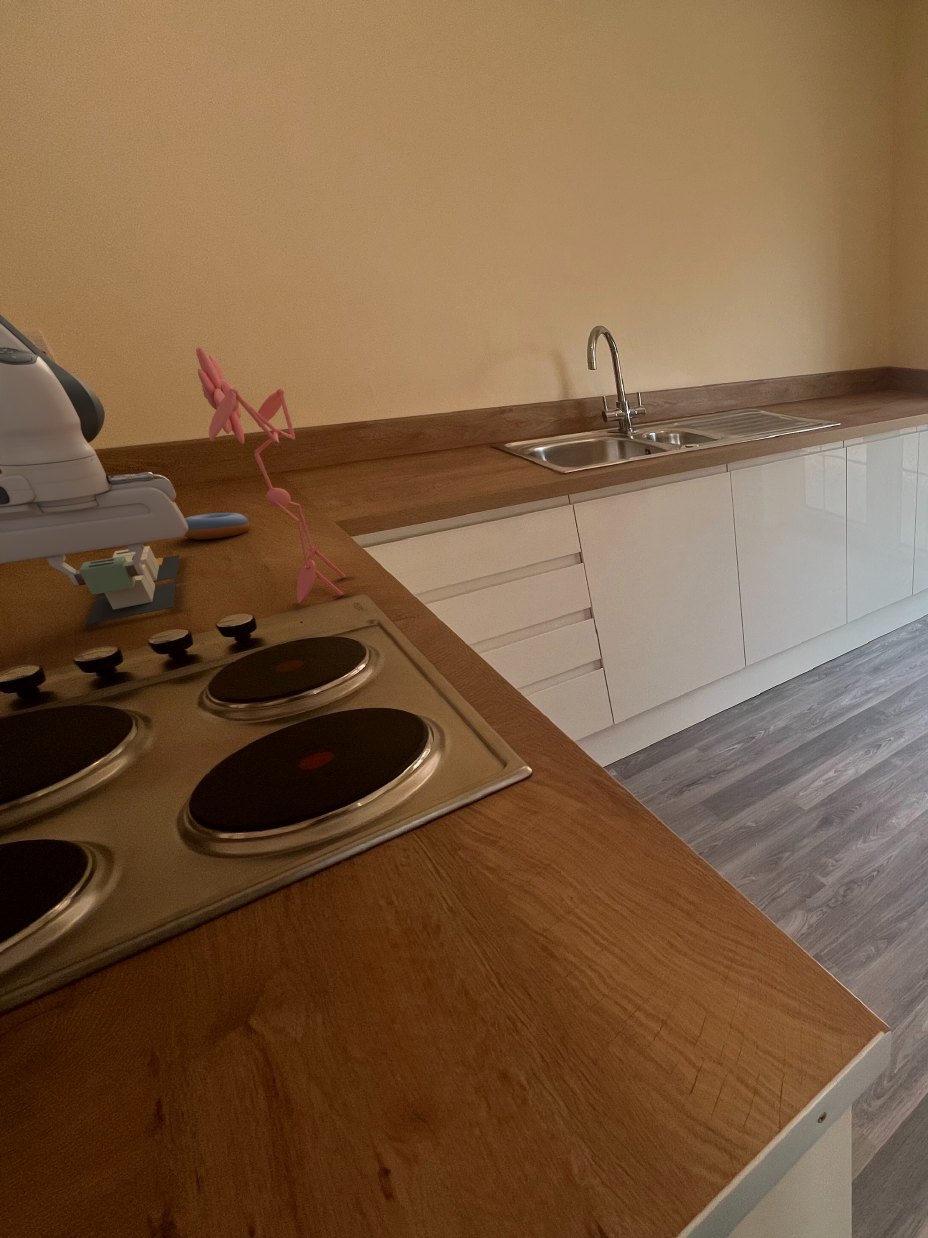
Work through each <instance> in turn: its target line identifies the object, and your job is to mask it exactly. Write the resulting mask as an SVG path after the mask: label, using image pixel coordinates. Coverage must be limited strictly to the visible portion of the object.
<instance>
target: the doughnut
mask: <svg viewBox="0 0 928 1238" xmlns="http://www.w3.org/2000/svg"><path fill="white" fill-rule="evenodd" d="M184 518H185V520H186V522H187V524H188V531H187V533H186V534H185V536H184V537H186V538H188V539H191V540H198V541H199V540H204V541H205V540H217V539H227V538H233V537H236V536H237V537H238V536H239V535H243V534H245V533H247V532H248V531H249V529H250V523H249V522H250V521H249V519H248V518H247V517H246V516H245V515H243V514H241V513H238V512H215V513H214V512H213V513H205V514H197V515H192V516H188V517H184Z"/></svg>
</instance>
